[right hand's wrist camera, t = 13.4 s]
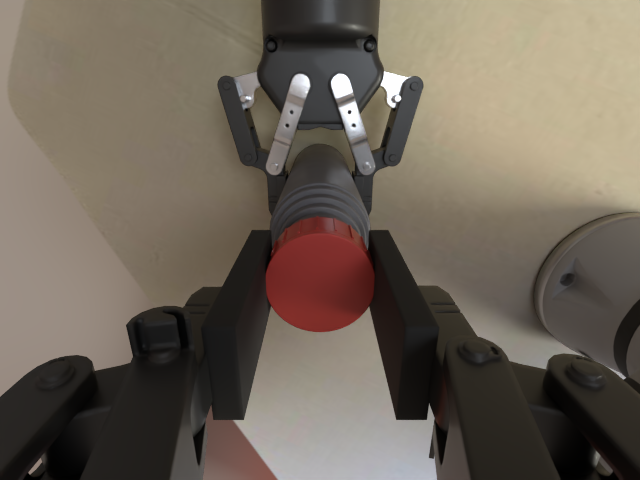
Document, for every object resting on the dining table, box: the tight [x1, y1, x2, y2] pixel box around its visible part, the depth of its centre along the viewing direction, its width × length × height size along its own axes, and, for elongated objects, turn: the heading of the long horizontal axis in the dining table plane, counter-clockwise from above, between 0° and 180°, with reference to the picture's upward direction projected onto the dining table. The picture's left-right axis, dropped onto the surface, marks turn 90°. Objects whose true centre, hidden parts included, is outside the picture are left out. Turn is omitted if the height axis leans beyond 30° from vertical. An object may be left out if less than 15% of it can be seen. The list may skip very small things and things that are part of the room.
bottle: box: [270, 144, 370, 248], centre depth 23 cm, size 5×5×22 cm
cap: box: [266, 216, 375, 332], centre depth 14 cm, size 4×4×2 cm
